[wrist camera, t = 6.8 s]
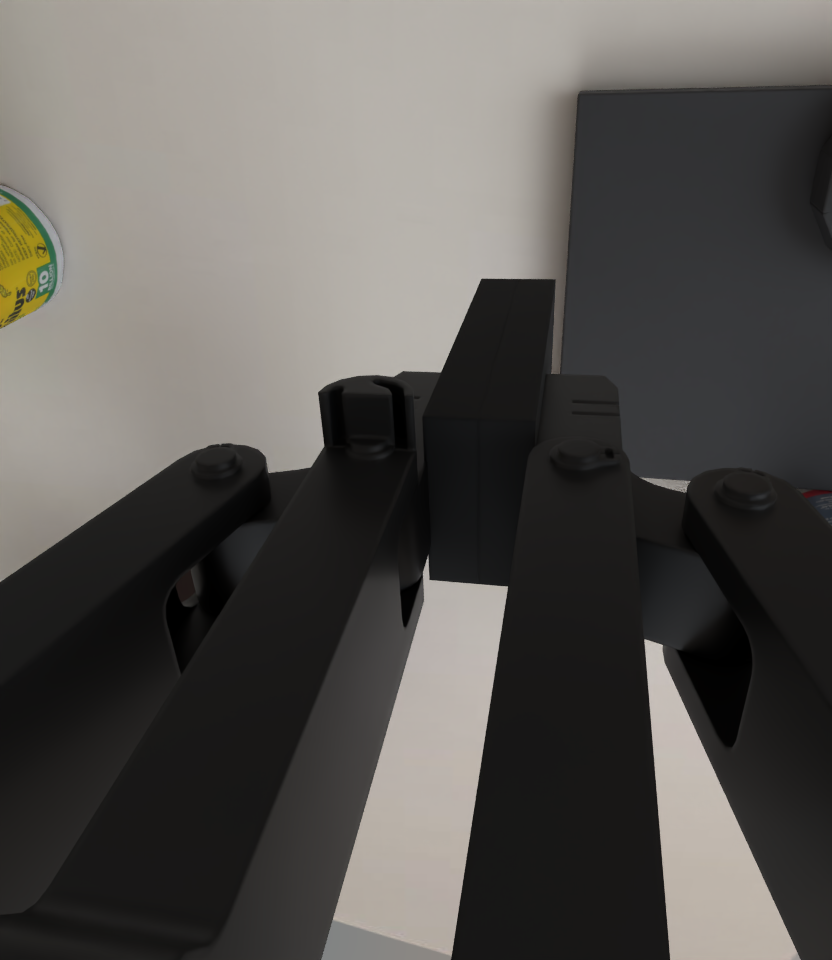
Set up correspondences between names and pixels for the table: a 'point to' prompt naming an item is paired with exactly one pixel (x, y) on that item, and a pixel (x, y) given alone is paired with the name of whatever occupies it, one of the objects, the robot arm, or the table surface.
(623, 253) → the scale
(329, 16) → the table surface
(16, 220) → the supplement bottle
